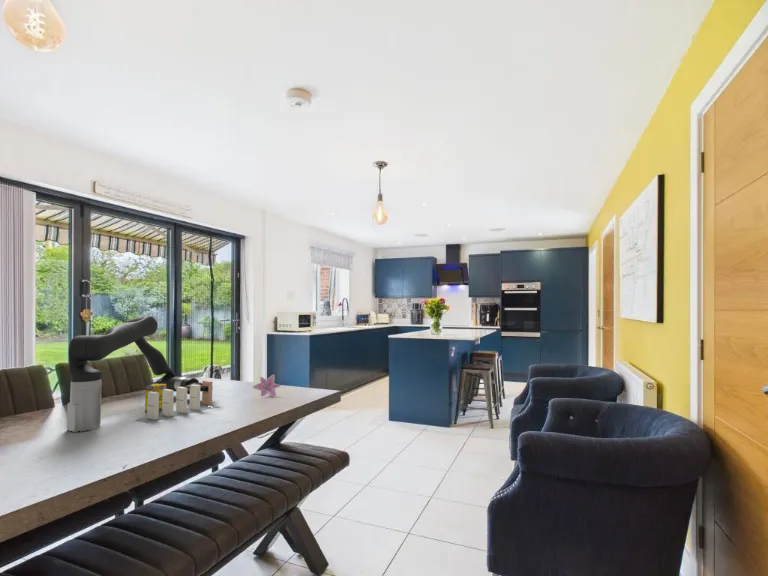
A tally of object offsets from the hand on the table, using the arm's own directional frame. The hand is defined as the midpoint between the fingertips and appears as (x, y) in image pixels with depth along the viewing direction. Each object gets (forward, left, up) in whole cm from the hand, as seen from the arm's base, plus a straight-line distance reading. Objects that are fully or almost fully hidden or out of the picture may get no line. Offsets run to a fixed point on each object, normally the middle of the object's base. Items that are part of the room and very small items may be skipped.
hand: (209, 388), depth 191 cm
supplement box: (-19, +9, -7) cm, 23 cm away
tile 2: (-9, -3, -7) cm, 12 cm away
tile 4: (-21, -3, -7) cm, 23 cm away
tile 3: (-15, -3, -7) cm, 17 cm away
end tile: (-27, -3, -7) cm, 28 cm away
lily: (+27, -8, -7) cm, 29 cm away
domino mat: (-17, -3, -7) cm, 19 cm away
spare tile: (0, +2, -7) cm, 7 cm away
